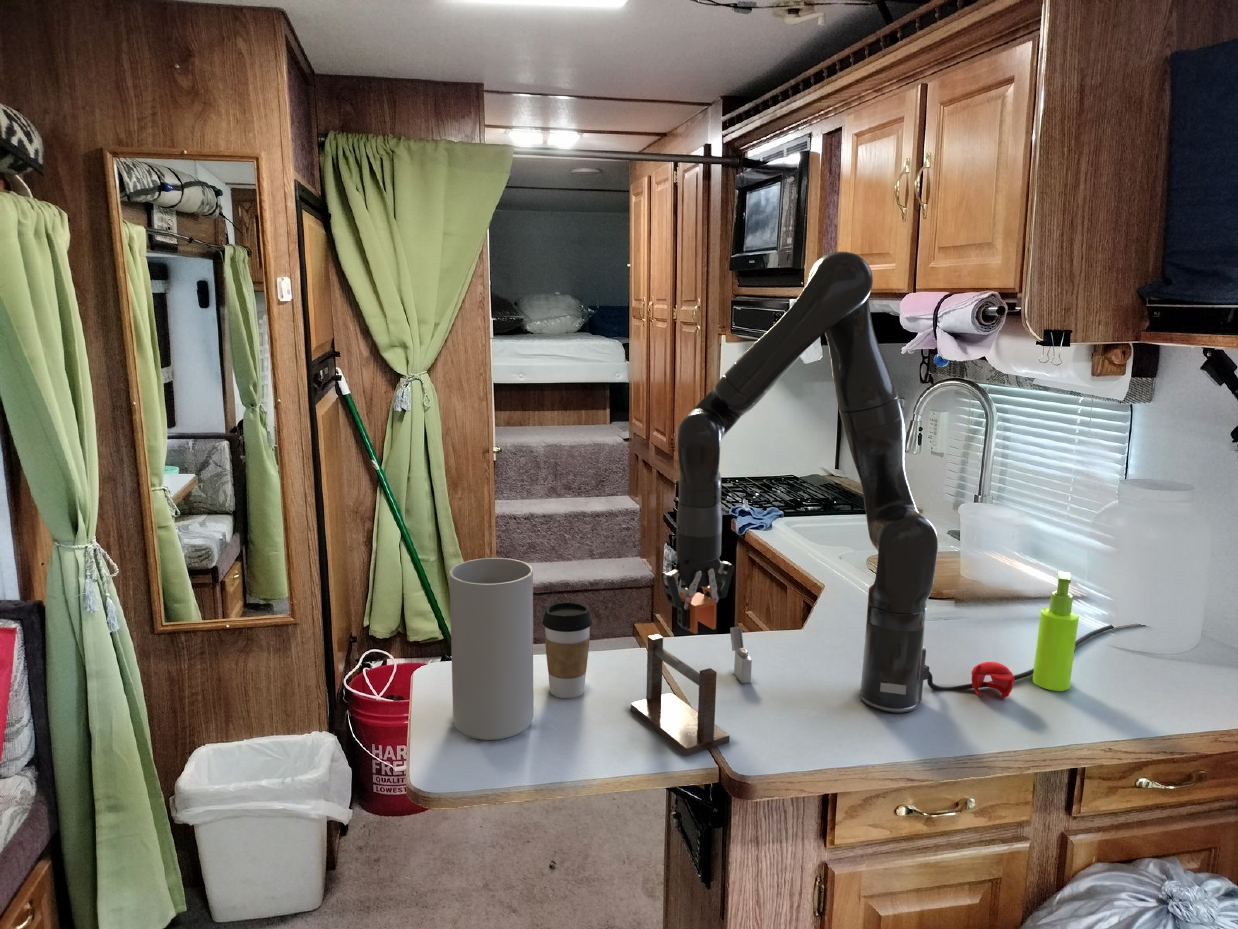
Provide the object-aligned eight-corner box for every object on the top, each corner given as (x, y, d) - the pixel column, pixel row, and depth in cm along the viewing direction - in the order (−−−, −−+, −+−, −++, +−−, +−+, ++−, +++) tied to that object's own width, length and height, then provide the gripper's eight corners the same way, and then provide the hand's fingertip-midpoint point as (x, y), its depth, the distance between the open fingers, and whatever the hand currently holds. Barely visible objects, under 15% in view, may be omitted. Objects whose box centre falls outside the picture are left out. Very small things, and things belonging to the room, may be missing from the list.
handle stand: (671, 698, 142) (673, 630, 140) (729, 742, 129) (733, 667, 126) (630, 709, 138) (631, 639, 136) (686, 756, 125) (688, 679, 122)
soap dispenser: (1068, 677, 152) (1082, 571, 148) (1070, 693, 146) (1084, 583, 142) (1032, 671, 155) (1044, 566, 151) (1032, 686, 149) (1046, 578, 145)
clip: (698, 619, 148) (699, 592, 147) (715, 629, 144) (716, 601, 143) (677, 624, 146) (678, 596, 145) (694, 634, 142) (695, 605, 141)
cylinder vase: (451, 706, 138) (447, 560, 133) (527, 699, 141) (527, 555, 136) (455, 746, 126) (451, 587, 121) (538, 737, 129) (538, 581, 124)
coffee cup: (554, 706, 139) (554, 620, 136) (534, 685, 146) (534, 602, 143) (600, 696, 143) (601, 611, 140) (579, 675, 150) (579, 595, 147)
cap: (959, 687, 148) (962, 655, 147) (986, 682, 150) (990, 651, 149) (993, 708, 141) (997, 675, 139) (1021, 703, 143) (1025, 670, 142)
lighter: (751, 682, 149) (753, 639, 147) (741, 683, 148) (743, 640, 147) (737, 665, 155) (739, 624, 154) (728, 666, 155) (729, 624, 153)
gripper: (675, 540, 135) (674, 641, 138) (747, 528, 142) (743, 624, 145) (650, 529, 141) (649, 626, 144) (720, 518, 148) (717, 610, 151)
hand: (696, 624), depth 145 cm, fingers closed on clip, 4 cm apart
